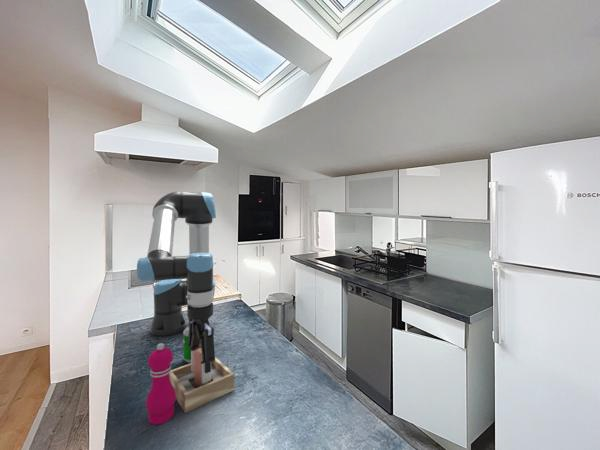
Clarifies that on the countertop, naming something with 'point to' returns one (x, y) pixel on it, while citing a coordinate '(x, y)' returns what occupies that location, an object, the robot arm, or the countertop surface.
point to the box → (196, 397)
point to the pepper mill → (160, 386)
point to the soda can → (186, 346)
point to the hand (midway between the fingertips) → (201, 375)
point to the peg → (198, 368)
